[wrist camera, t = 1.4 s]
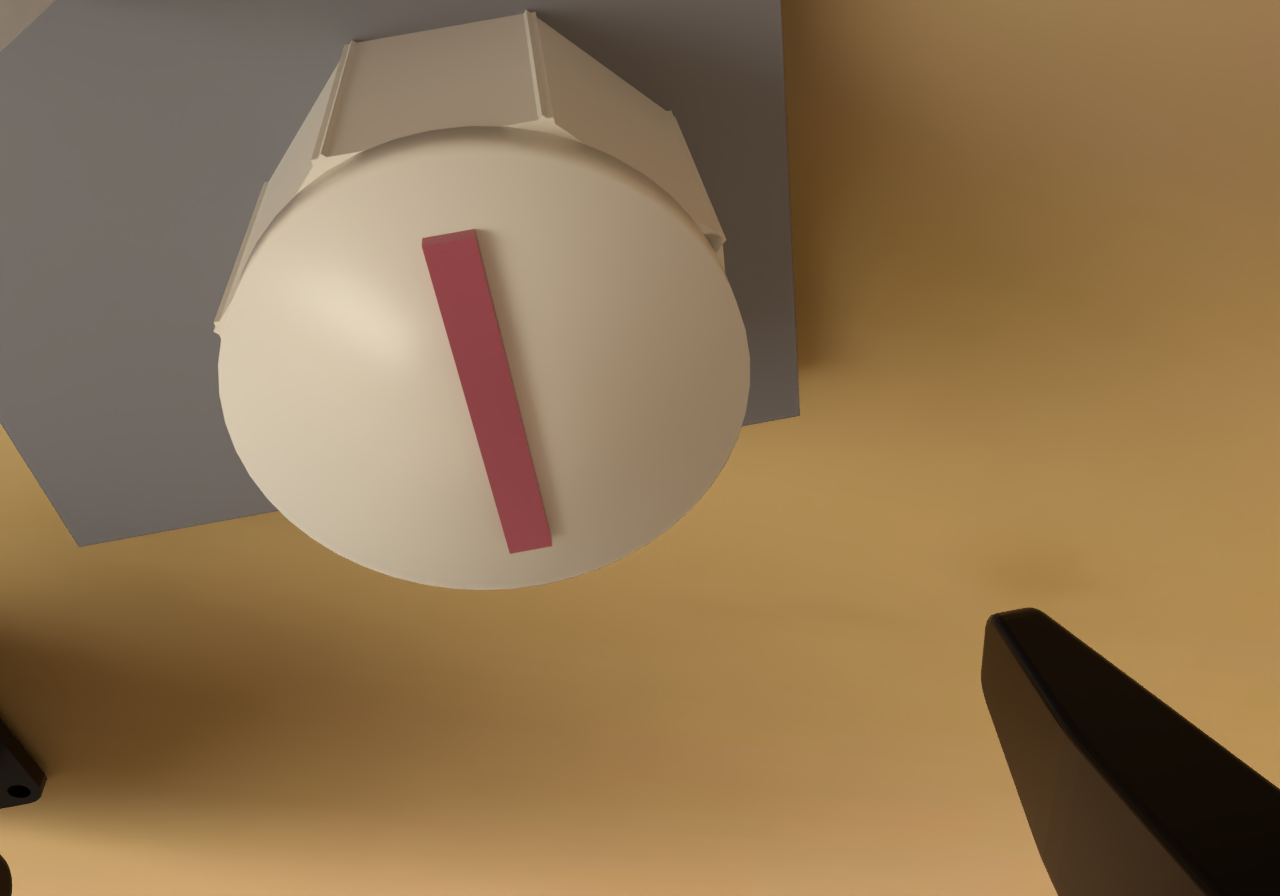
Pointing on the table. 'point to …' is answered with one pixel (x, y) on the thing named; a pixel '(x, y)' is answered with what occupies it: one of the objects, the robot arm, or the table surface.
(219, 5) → the board
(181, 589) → the table surface
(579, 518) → the knob
